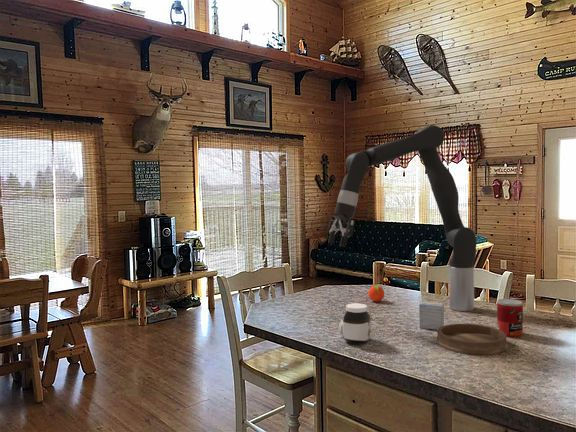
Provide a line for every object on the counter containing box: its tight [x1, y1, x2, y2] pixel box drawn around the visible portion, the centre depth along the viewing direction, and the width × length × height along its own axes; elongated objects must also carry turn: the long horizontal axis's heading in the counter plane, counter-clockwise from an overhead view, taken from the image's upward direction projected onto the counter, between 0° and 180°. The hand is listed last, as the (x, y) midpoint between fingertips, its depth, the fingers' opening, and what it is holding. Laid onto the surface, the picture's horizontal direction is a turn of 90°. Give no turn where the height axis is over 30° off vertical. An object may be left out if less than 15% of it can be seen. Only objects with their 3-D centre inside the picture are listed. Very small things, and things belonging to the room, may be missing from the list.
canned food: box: [496, 298, 524, 338], centre depth 159 cm, size 8×8×11 cm
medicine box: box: [418, 301, 445, 331], centre depth 168 cm, size 8×4×9 cm, turn 65°
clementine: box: [367, 284, 385, 303], centre depth 208 cm, size 8×7×7 cm
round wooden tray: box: [436, 323, 509, 356], centre depth 151 cm, size 21×21×4 cm
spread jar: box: [337, 302, 372, 345], centre depth 158 cm, size 12×11×12 cm
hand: (336, 244), depth 182 cm, fingers open, 8 cm apart
